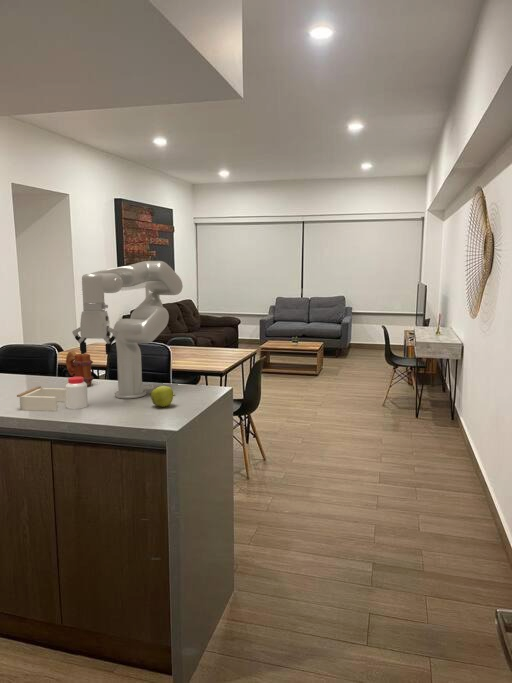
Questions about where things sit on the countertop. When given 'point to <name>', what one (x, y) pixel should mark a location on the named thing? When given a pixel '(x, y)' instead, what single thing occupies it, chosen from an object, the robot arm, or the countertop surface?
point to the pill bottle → (76, 393)
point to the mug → (79, 366)
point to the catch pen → (42, 398)
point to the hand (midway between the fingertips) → (96, 353)
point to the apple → (162, 396)
